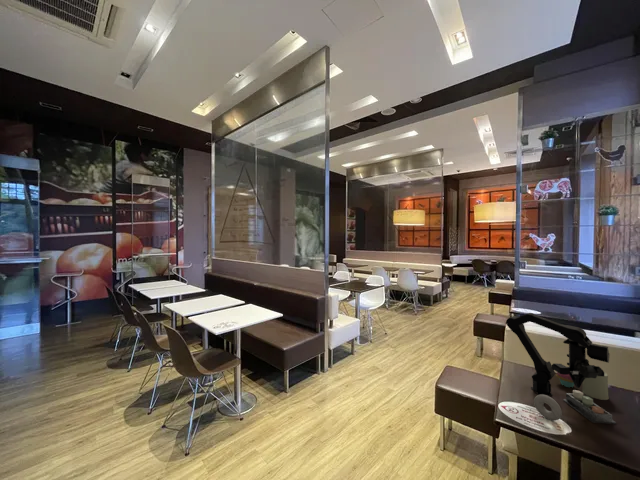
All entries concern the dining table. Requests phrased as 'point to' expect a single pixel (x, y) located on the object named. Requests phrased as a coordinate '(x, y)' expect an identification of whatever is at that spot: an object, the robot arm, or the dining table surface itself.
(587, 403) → the green rounded piece
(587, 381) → the can
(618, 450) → the dining table surface
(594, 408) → the brown egg
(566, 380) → the cupcake
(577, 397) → the white egg
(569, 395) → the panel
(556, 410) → the donut
